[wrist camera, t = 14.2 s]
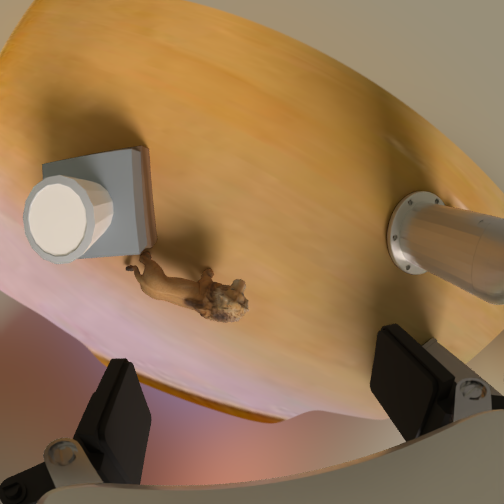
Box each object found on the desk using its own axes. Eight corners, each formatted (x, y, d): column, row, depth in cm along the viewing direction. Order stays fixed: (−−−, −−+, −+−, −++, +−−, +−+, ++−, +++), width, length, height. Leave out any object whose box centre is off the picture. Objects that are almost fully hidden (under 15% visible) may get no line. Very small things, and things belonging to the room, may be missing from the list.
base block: (149, 149, 33) (141, 145, 29) (157, 239, 36) (151, 247, 32) (69, 163, 32) (53, 162, 27) (78, 247, 35) (64, 256, 30)
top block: (140, 152, 29) (131, 148, 25) (147, 245, 31) (139, 254, 28) (59, 164, 28) (42, 164, 24) (67, 251, 30) (52, 260, 26)
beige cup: (51, 188, 25) (13, 193, 18) (109, 164, 25) (81, 161, 18) (69, 252, 26) (37, 274, 20) (128, 233, 27) (106, 251, 20)
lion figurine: (244, 263, 38) (256, 289, 29) (238, 302, 39) (247, 336, 30) (128, 247, 35) (106, 269, 27) (126, 287, 36) (106, 318, 28)
